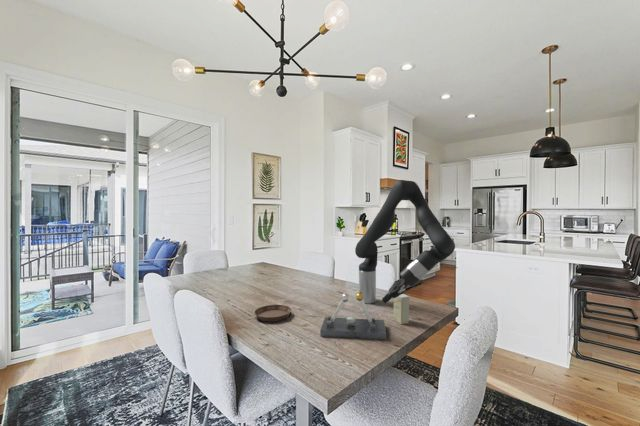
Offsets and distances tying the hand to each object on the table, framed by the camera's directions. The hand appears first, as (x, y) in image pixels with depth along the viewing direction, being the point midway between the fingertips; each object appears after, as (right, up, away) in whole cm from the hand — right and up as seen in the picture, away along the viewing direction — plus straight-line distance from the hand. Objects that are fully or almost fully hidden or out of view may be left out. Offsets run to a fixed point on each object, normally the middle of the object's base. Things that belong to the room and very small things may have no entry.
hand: (383, 301), depth 122 cm
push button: (-13, -11, +2) cm, 17 cm away
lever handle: (-4, -10, +1) cm, 11 cm away
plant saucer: (-49, -14, +20) cm, 55 cm away
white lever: (-22, -11, +4) cm, 25 cm away
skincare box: (+11, -13, +12) cm, 21 cm away
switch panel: (-12, -13, +2) cm, 18 cm away
